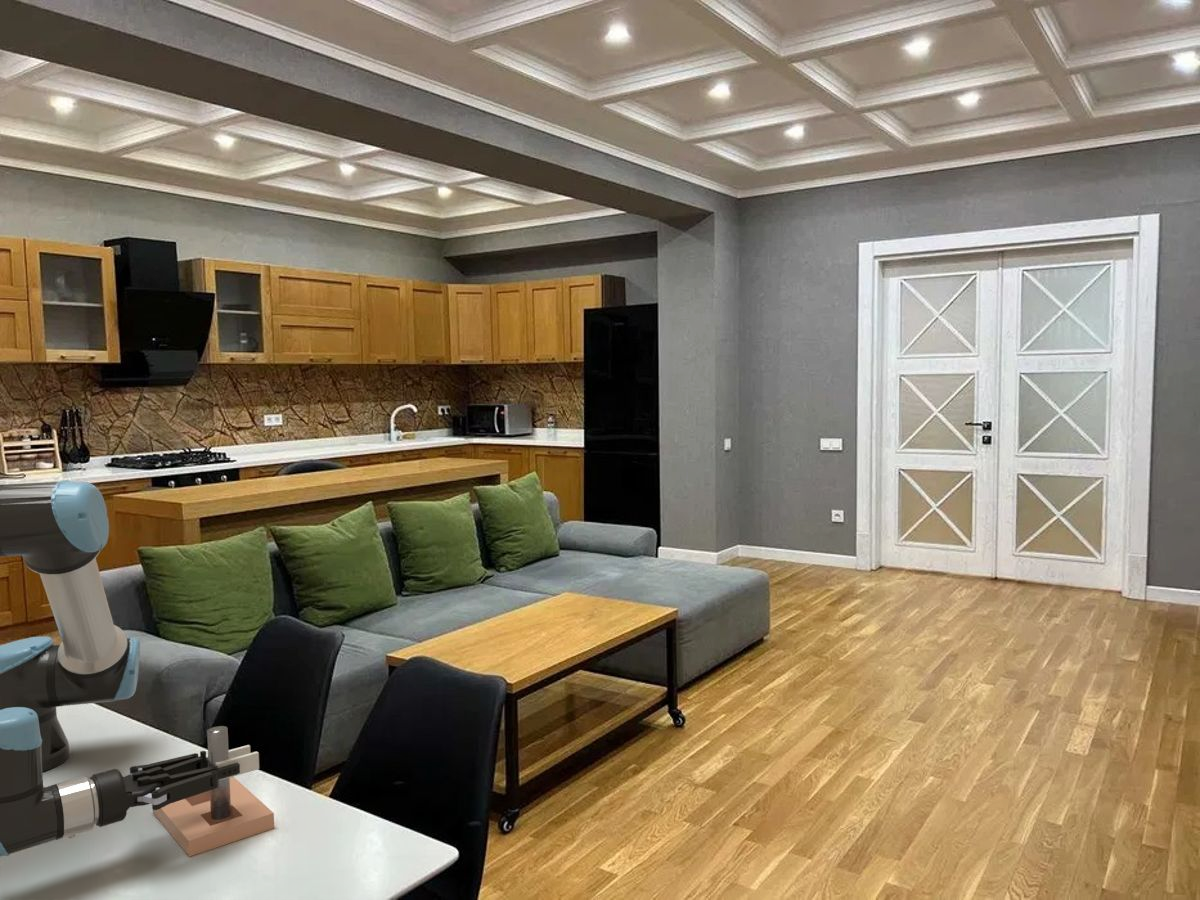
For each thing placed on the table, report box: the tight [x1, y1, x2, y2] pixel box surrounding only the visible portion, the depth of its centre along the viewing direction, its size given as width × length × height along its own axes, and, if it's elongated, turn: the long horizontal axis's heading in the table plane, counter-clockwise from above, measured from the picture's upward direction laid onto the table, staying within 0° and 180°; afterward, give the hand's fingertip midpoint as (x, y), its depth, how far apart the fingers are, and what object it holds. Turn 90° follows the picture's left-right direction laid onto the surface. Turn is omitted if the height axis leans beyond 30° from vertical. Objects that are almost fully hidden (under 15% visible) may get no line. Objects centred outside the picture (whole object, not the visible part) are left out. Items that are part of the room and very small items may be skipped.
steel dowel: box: [206, 725, 231, 820], centre depth 143 cm, size 3×3×14 cm
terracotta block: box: [152, 776, 275, 858], centre depth 147 cm, size 19×13×2 cm
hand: (253, 756), depth 147 cm, fingers closed on steel dowel, 3 cm apart
